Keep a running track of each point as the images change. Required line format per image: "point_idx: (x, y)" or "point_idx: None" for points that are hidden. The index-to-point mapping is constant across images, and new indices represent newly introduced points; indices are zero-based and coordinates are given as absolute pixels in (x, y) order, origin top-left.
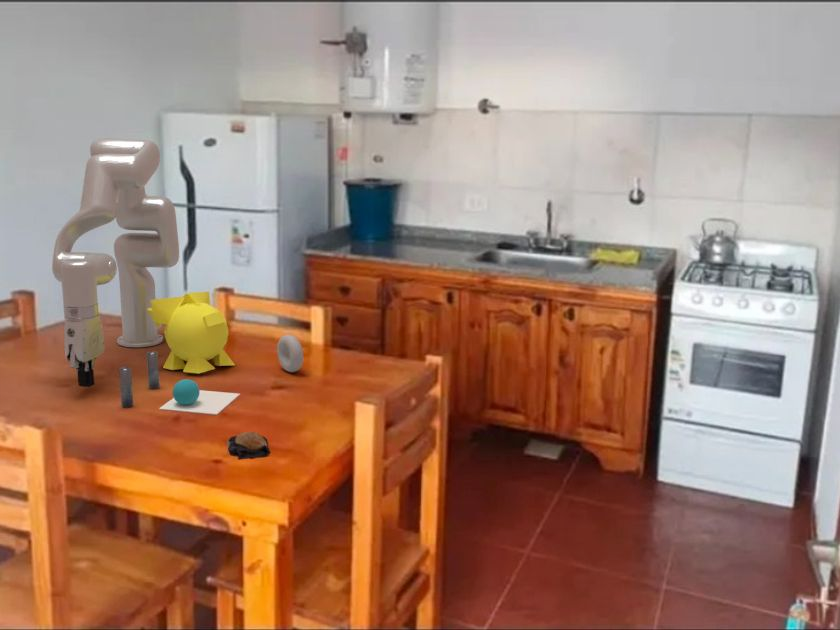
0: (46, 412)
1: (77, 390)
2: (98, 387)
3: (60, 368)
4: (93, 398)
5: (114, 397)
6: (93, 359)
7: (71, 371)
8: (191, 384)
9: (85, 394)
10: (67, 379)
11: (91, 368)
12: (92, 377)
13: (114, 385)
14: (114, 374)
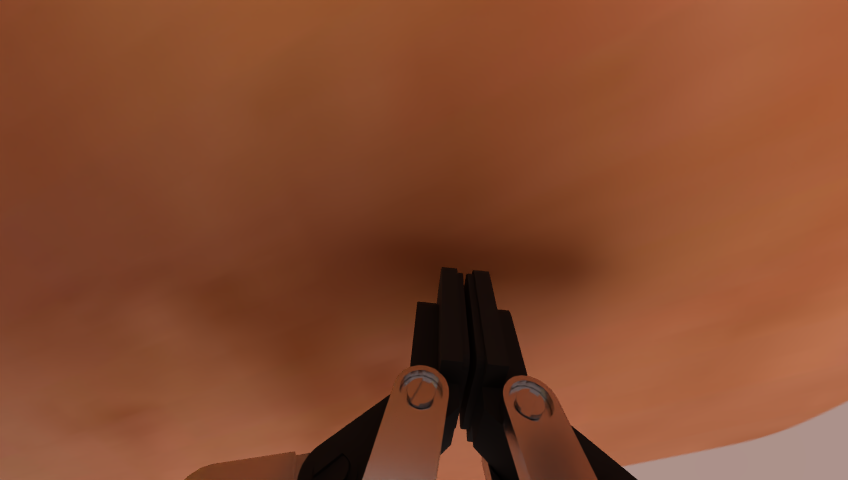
0: (804, 332)
1: None
2: (375, 245)
3: (210, 449)
4: (589, 192)
5: (576, 38)
6: (391, 471)
7: (217, 416)
8: None
9: (509, 265)
10: (312, 400)
11: (441, 379)
12: (460, 307)
13: (309, 166)
14: (135, 250)
